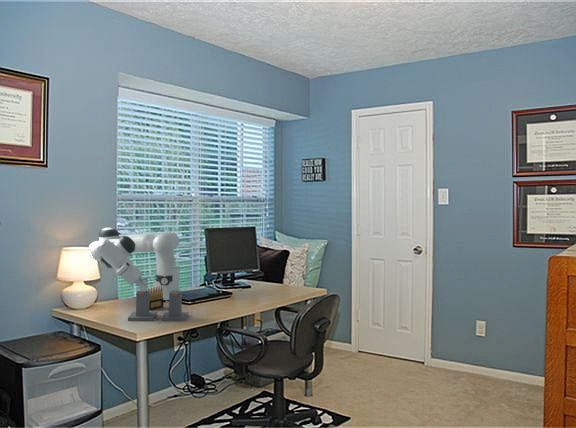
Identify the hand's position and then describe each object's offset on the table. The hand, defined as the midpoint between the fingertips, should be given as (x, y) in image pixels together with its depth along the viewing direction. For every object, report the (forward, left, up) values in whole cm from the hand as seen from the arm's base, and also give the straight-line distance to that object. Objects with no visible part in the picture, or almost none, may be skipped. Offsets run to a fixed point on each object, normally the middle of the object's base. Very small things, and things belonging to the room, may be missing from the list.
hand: (144, 286), depth 252 cm
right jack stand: (0, +15, -16) cm, 22 cm away
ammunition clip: (-20, +2, -16) cm, 26 cm away
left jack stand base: (0, -1, -16) cm, 16 cm away
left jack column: (0, -1, -13) cm, 13 cm away
